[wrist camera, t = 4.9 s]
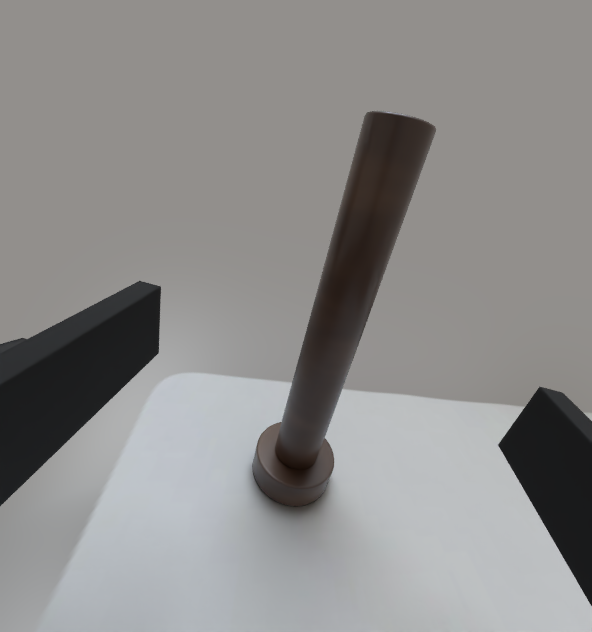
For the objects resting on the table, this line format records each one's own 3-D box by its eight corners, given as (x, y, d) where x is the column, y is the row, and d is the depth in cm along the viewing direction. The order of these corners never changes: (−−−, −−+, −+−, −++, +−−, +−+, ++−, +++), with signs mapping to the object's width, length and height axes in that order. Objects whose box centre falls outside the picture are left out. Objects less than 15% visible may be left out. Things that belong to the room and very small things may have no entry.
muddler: (242, 493, 16) (336, 89, 8) (262, 430, 20) (337, 116, 12) (325, 516, 16) (494, 127, 8) (328, 448, 20) (444, 143, 12)
